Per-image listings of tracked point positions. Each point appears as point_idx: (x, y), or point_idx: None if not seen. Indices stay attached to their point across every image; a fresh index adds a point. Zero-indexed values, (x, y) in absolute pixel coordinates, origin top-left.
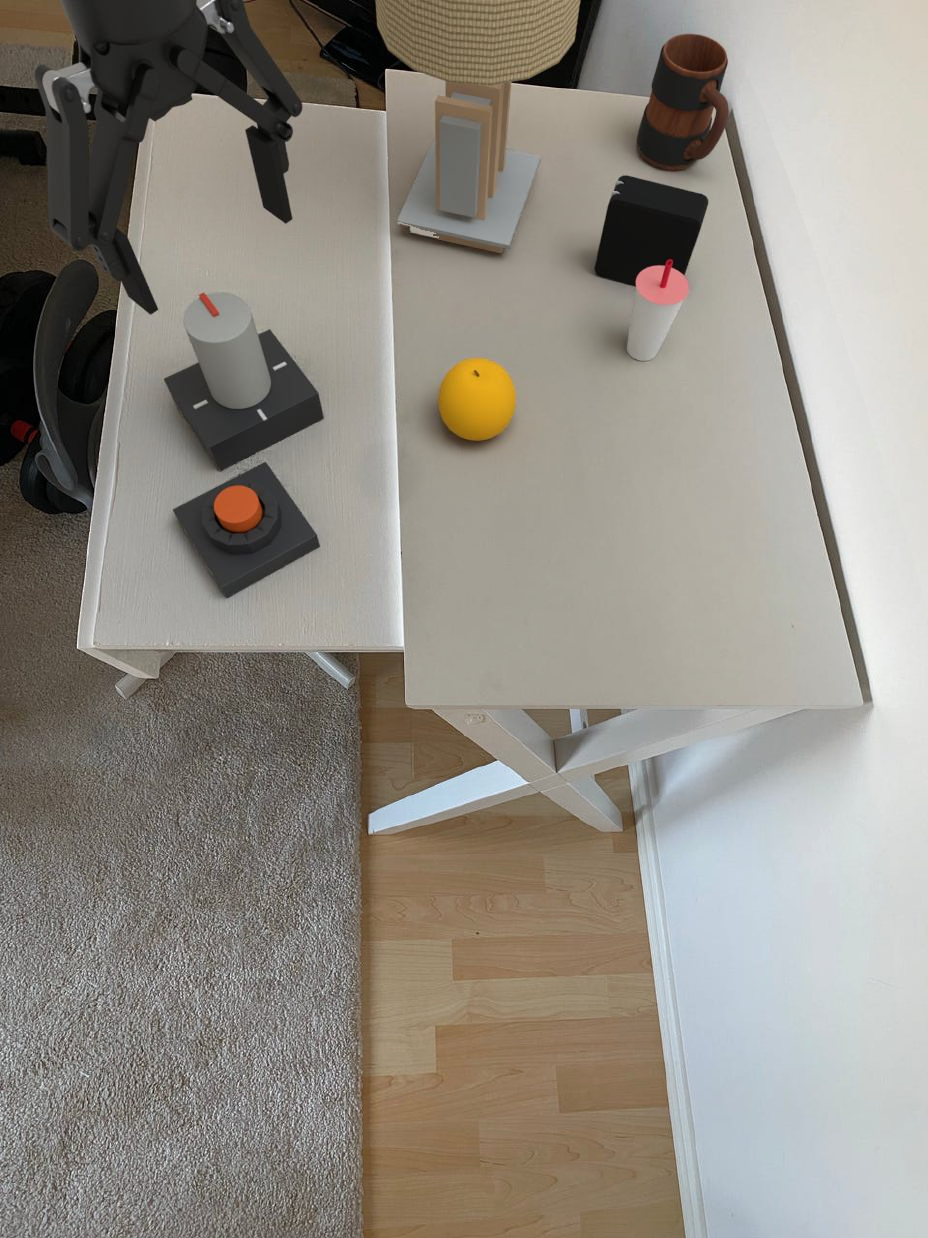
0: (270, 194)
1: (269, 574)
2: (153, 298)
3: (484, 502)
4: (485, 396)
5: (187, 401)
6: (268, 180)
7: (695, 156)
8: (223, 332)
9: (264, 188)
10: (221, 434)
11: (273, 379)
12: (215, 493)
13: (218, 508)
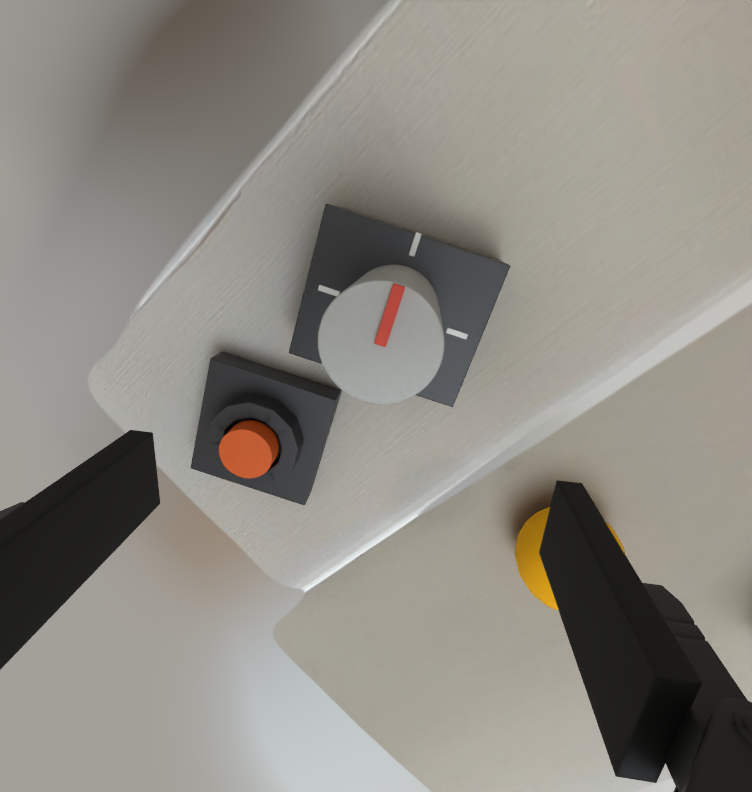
0: (563, 563)
1: None
2: (141, 521)
3: (464, 586)
4: (557, 607)
5: (320, 270)
6: (576, 602)
7: None
8: (359, 380)
9: (570, 548)
10: (313, 351)
11: None
12: (248, 407)
13: (225, 443)
